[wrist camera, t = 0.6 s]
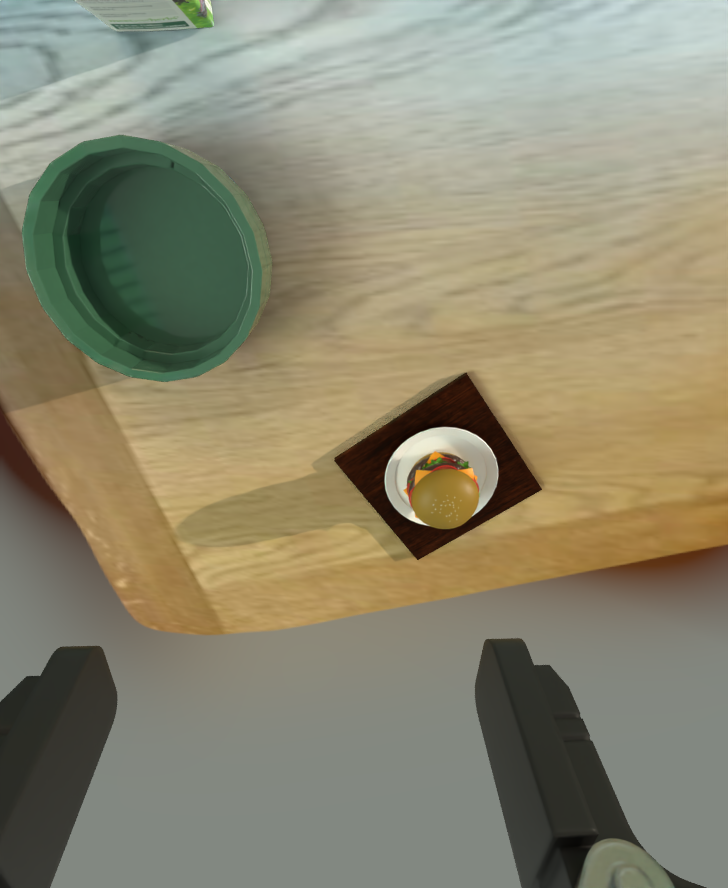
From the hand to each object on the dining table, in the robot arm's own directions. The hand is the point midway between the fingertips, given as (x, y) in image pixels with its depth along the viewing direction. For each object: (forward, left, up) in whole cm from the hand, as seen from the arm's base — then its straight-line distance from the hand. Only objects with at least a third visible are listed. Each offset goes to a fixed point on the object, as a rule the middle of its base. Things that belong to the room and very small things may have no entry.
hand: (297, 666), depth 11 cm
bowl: (-3, -11, -28) cm, 30 cm away
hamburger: (+10, +10, -28) cm, 31 cm away
